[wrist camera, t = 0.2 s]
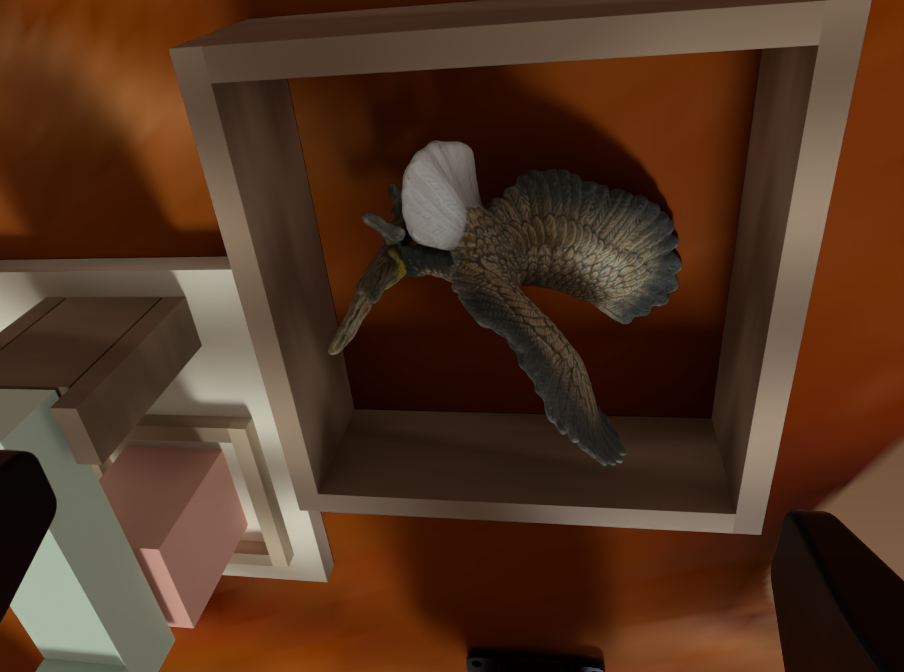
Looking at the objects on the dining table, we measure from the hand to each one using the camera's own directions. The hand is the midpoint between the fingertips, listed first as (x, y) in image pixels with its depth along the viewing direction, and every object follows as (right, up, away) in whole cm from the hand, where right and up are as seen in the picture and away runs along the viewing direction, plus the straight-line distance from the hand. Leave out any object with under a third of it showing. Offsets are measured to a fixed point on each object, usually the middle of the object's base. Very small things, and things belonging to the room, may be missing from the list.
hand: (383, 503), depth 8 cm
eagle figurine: (+3, +5, +14) cm, 15 cm away
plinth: (+3, +5, +14) cm, 15 cm away
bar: (-11, -4, +14) cm, 19 cm away
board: (-15, -2, +21) cm, 26 cm away
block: (-10, -4, +21) cm, 23 cm away
